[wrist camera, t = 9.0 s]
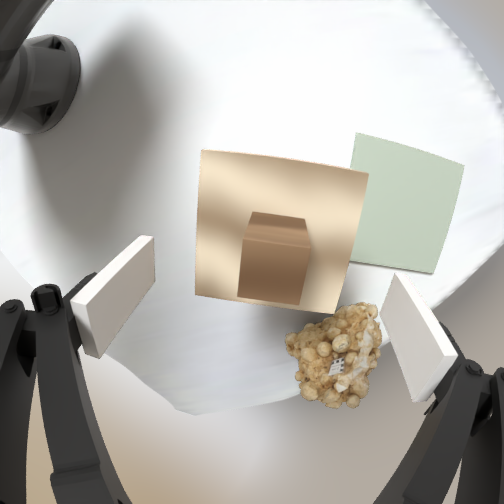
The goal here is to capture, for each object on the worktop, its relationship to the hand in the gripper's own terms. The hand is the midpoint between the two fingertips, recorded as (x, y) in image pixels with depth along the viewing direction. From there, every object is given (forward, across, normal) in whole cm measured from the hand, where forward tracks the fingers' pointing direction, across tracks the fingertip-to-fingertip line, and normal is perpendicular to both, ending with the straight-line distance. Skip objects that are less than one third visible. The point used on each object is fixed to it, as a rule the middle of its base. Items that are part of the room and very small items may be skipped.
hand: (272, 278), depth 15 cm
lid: (+6, 0, 0) cm, 6 cm away
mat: (+19, +15, +1) cm, 24 cm away
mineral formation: (+20, +10, -16) cm, 27 cm away
